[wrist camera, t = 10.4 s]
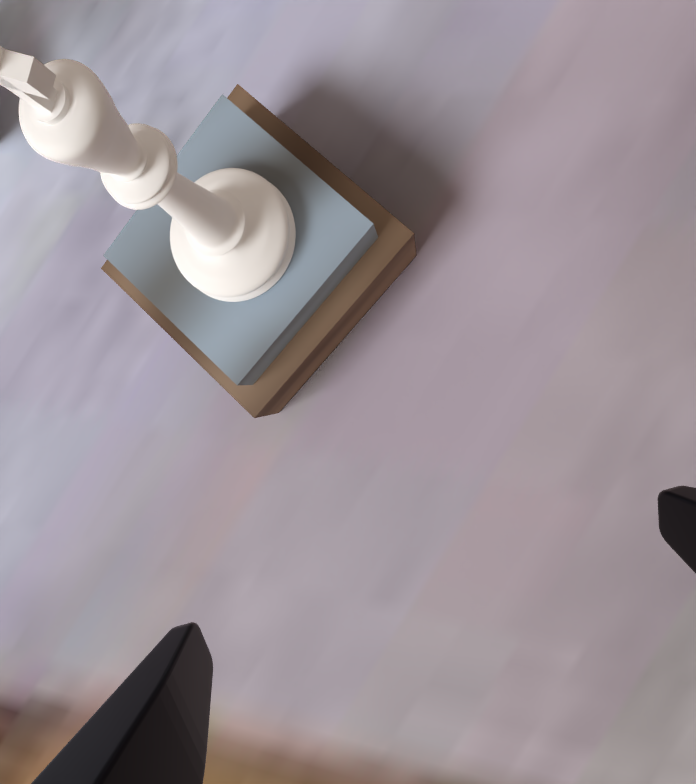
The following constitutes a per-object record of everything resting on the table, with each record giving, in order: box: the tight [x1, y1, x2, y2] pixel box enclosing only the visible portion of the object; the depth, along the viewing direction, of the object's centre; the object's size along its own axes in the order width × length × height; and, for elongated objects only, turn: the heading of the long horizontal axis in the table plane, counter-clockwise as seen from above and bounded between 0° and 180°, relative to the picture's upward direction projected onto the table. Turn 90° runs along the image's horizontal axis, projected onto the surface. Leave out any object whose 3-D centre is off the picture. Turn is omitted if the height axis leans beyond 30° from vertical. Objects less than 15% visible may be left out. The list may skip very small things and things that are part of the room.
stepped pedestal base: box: [101, 84, 416, 418], centre depth 19 cm, size 10×10×4 cm
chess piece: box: [0, 46, 296, 302], centre depth 12 cm, size 5×5×10 cm
